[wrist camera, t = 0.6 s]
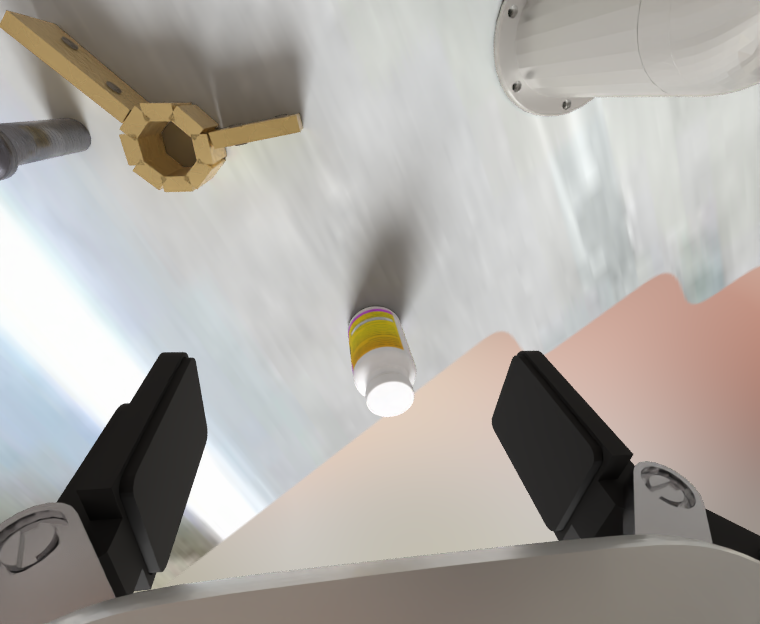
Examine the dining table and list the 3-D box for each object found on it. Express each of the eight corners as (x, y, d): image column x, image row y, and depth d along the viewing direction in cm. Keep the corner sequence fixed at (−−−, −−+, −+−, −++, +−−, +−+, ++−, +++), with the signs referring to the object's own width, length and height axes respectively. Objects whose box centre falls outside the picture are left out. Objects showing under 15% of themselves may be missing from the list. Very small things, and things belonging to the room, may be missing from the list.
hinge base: (70, -7, 27) (24, -27, 23) (239, 142, 34) (227, 149, 29) (32, 65, 29) (-18, 59, 25) (199, 194, 35) (182, 207, 31)
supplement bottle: (336, 323, 45) (341, 396, 34) (381, 294, 44) (401, 360, 33) (367, 357, 48) (380, 434, 37) (409, 331, 47) (436, 402, 36)
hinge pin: (60, 99, 30) (-58, 99, 21) (107, 135, 32) (17, 150, 23) (39, 135, 31) (-82, 151, 22) (86, 168, 33) (-8, 196, 24)
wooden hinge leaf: (228, 144, 34) (215, 151, 29) (222, 126, 33) (207, 130, 29) (303, 129, 34) (300, 133, 30) (298, 111, 33) (295, 113, 29)
